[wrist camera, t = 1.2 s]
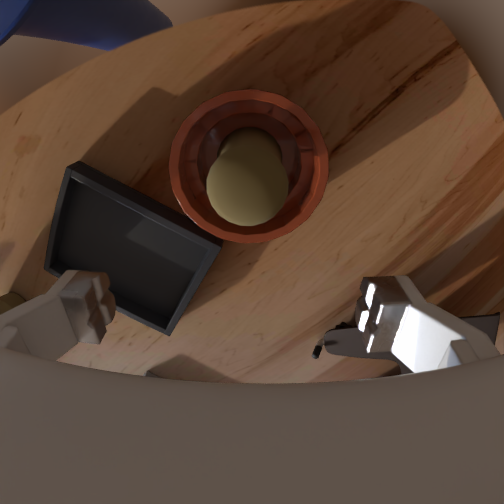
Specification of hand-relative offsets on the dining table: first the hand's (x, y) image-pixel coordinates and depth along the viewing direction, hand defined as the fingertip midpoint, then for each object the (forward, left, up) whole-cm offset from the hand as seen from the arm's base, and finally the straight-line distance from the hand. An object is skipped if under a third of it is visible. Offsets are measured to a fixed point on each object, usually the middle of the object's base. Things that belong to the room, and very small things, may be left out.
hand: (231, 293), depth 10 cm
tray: (-7, -15, -21) cm, 27 cm away
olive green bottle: (0, 0, -21) cm, 21 cm away
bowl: (0, 0, -21) cm, 21 cm away
